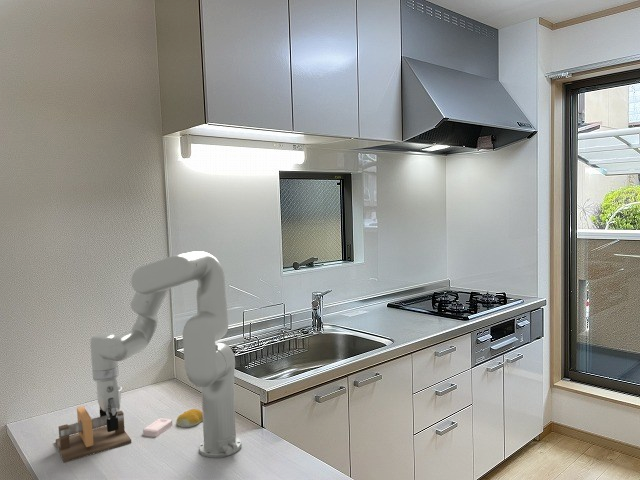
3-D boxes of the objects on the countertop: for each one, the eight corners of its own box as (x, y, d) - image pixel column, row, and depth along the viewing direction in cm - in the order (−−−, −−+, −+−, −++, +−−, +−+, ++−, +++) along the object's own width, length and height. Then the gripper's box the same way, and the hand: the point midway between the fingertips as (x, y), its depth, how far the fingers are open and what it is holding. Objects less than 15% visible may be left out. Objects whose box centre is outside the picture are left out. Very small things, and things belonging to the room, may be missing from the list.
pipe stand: (131, 442, 155) (130, 419, 154) (63, 462, 144) (62, 437, 143) (118, 425, 168) (117, 403, 167) (55, 442, 157) (54, 418, 156)
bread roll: (208, 418, 172) (207, 406, 172) (193, 429, 164) (192, 417, 163) (187, 415, 175) (187, 404, 174) (172, 426, 166) (171, 414, 166)
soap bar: (142, 436, 160) (142, 428, 160) (159, 424, 169) (159, 417, 169) (156, 438, 158) (156, 430, 158) (173, 425, 167) (172, 418, 167)
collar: (93, 445, 150) (91, 419, 149) (86, 447, 149) (84, 421, 148) (85, 430, 160) (83, 406, 160) (78, 432, 159) (76, 407, 159)
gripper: (125, 377, 152) (128, 431, 153) (111, 364, 166) (114, 413, 167) (98, 382, 148) (102, 438, 149) (87, 369, 162) (90, 420, 163)
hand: (109, 425), depth 158 cm, fingers open, 9 cm apart
